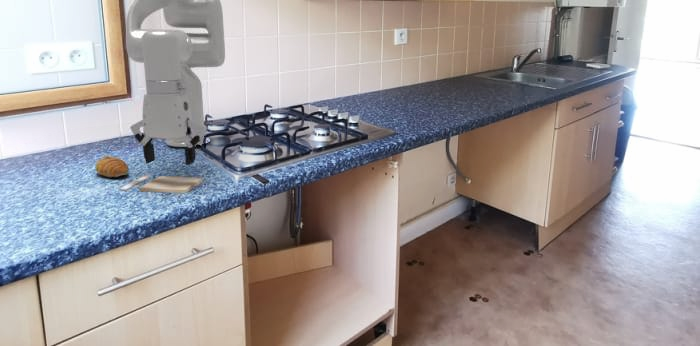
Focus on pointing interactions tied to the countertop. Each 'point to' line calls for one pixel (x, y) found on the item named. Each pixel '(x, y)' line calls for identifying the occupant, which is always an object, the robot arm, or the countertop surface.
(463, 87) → the countertop surface
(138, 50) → the robot arm
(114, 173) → the pastry
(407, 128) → the countertop surface
